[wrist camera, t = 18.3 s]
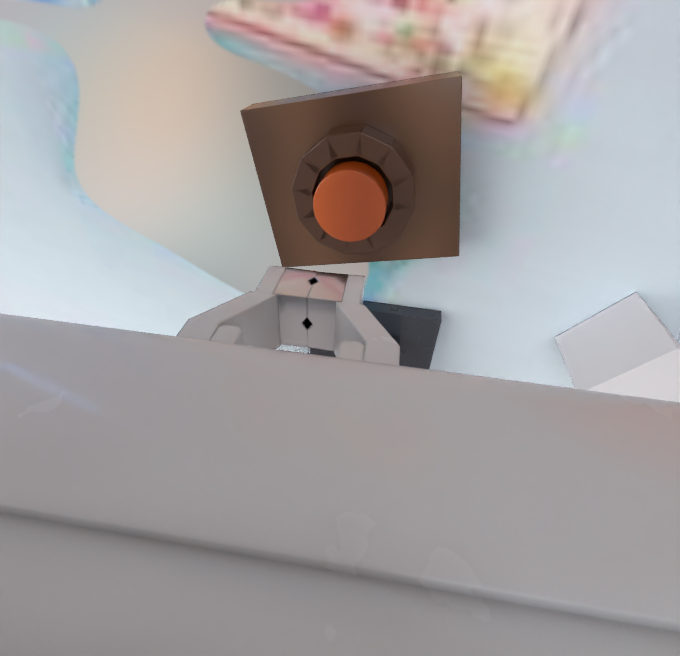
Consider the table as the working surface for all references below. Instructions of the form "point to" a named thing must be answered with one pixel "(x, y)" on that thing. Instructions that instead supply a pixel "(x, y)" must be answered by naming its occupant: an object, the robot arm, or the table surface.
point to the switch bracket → (405, 332)
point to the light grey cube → (623, 353)
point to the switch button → (351, 201)
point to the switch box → (370, 148)
